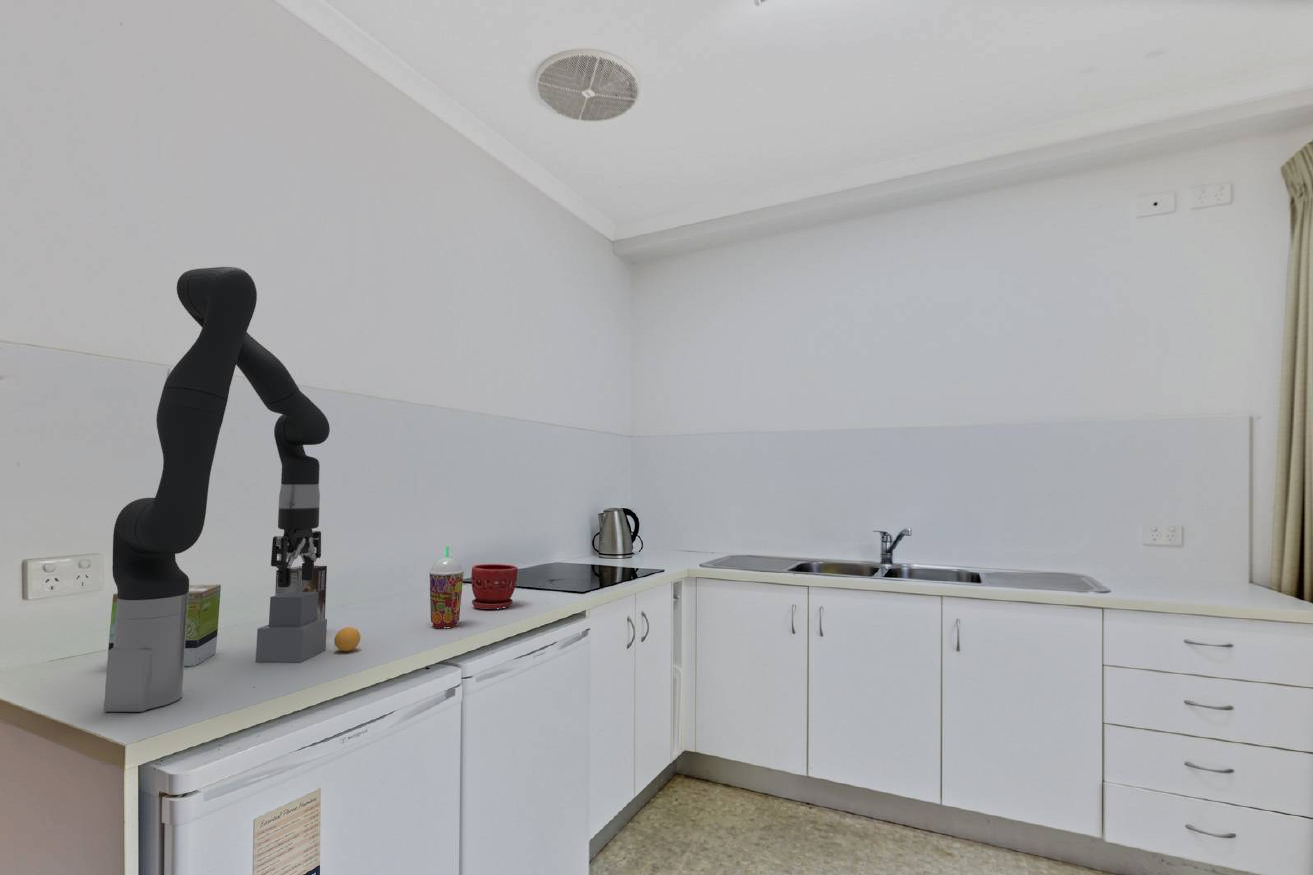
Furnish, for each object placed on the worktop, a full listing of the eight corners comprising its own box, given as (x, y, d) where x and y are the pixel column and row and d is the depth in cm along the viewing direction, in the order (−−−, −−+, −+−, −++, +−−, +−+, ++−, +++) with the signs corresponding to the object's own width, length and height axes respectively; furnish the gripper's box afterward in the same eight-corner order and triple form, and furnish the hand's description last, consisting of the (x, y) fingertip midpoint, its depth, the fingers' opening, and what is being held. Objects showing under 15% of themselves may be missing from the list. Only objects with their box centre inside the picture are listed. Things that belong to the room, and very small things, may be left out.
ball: (353, 654, 131) (354, 630, 131) (329, 654, 131) (330, 629, 131) (364, 648, 136) (365, 624, 136) (341, 648, 136) (342, 624, 136)
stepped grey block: (301, 662, 125) (304, 598, 126) (255, 662, 125) (259, 598, 126) (325, 650, 134) (328, 590, 135) (282, 649, 134) (285, 590, 135)
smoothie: (420, 628, 154) (423, 547, 156) (439, 621, 162) (442, 544, 164) (450, 631, 152) (453, 548, 154) (468, 623, 160) (470, 545, 162)
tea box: (104, 672, 117) (110, 593, 119) (133, 658, 127) (138, 584, 128) (196, 667, 121) (201, 590, 123) (217, 653, 131) (222, 582, 132)
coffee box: (302, 631, 150) (305, 564, 152) (325, 633, 149) (328, 565, 150) (271, 641, 141) (275, 569, 143) (295, 642, 140) (299, 570, 141)
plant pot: (483, 613, 173) (484, 570, 174) (462, 606, 183) (463, 565, 184) (524, 607, 182) (525, 566, 183) (502, 601, 192) (503, 562, 193)
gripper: (297, 507, 125) (294, 589, 123) (334, 504, 139) (331, 578, 138) (260, 507, 124) (256, 589, 123) (300, 504, 139) (297, 578, 138)
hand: (296, 583), depth 131 cm, fingers open, 8 cm apart
